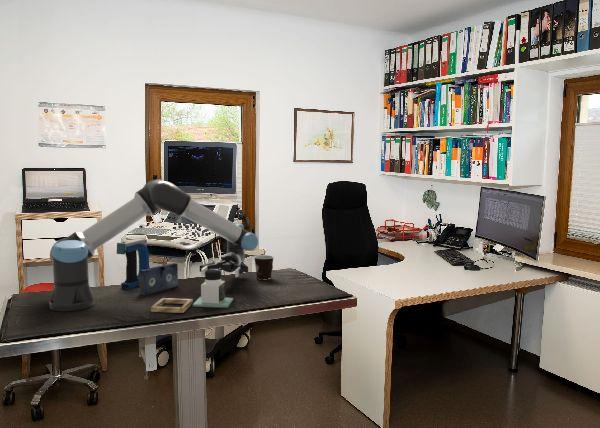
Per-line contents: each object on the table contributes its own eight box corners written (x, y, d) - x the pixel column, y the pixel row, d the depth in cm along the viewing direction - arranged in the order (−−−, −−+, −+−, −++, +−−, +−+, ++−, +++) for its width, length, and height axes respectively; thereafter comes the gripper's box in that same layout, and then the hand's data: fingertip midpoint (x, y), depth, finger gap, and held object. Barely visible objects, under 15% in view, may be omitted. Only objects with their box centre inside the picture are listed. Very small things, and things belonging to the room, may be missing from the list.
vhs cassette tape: (174, 285, 217) (174, 262, 216) (179, 286, 215) (178, 263, 214) (138, 294, 202) (138, 270, 201) (143, 295, 200) (142, 271, 199)
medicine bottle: (219, 304, 186) (219, 272, 185) (200, 303, 188) (200, 271, 186) (225, 298, 193) (225, 268, 192) (207, 297, 195) (207, 267, 193)
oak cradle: (150, 311, 179) (150, 307, 179) (162, 302, 191) (162, 298, 191) (183, 312, 178) (183, 308, 178) (193, 303, 190) (192, 299, 190)
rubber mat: (192, 306, 186) (192, 304, 186) (200, 298, 196) (200, 296, 196) (227, 307, 185) (227, 305, 185) (233, 299, 195) (233, 297, 195)
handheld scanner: (116, 289, 208) (115, 242, 206) (141, 281, 223) (141, 237, 220) (124, 291, 206) (124, 244, 204) (150, 282, 221) (149, 238, 219)
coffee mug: (254, 276, 233) (254, 255, 232) (272, 276, 234) (272, 255, 233) (254, 282, 222) (254, 260, 221) (274, 282, 223) (274, 260, 222)
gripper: (259, 271, 220) (250, 283, 199) (202, 269, 221) (188, 281, 200) (259, 254, 219) (250, 264, 198) (202, 253, 221) (188, 263, 200)
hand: (219, 273), depth 199 cm, fingers open, 13 cm apart
